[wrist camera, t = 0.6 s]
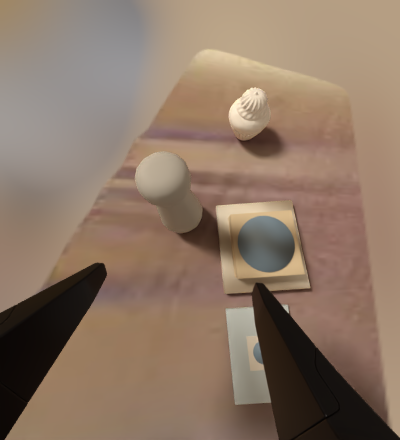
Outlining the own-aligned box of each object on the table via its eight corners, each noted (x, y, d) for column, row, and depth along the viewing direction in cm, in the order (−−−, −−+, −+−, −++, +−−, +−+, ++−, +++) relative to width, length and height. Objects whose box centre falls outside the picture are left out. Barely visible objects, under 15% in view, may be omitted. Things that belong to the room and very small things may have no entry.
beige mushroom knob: (207, 204, 24) (210, 148, 12) (195, 240, 23) (185, 220, 11) (171, 194, 25) (138, 129, 12) (158, 228, 24) (106, 195, 11)
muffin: (223, 120, 28) (229, 75, 21) (258, 116, 28) (275, 70, 21) (228, 150, 26) (237, 113, 20) (265, 146, 26) (286, 107, 20)
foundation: (305, 286, 21) (322, 291, 18) (224, 292, 21) (227, 298, 18) (288, 202, 24) (300, 194, 21) (215, 207, 24) (217, 200, 21)
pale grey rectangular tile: (302, 397, 19) (305, 401, 18) (234, 401, 19) (235, 405, 18) (286, 304, 21) (288, 305, 20) (225, 308, 21) (226, 309, 20)
